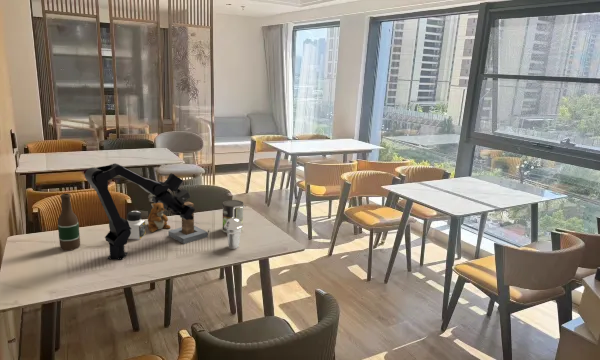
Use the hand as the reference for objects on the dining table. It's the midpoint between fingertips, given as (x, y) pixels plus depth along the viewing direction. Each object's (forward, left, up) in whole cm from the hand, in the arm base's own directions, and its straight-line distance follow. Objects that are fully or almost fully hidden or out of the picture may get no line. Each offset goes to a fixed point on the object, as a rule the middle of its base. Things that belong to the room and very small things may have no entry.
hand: (190, 217), depth 200 cm
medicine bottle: (-3, +25, -9) cm, 27 cm away
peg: (-1, +1, -8) cm, 8 cm away
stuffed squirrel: (+10, +19, -9) cm, 23 cm away
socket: (-1, +1, -9) cm, 9 cm away
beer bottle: (-17, +48, -9) cm, 52 cm away
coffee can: (+9, -19, -9) cm, 23 cm away
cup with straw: (-12, -22, -9) cm, 27 cm away
